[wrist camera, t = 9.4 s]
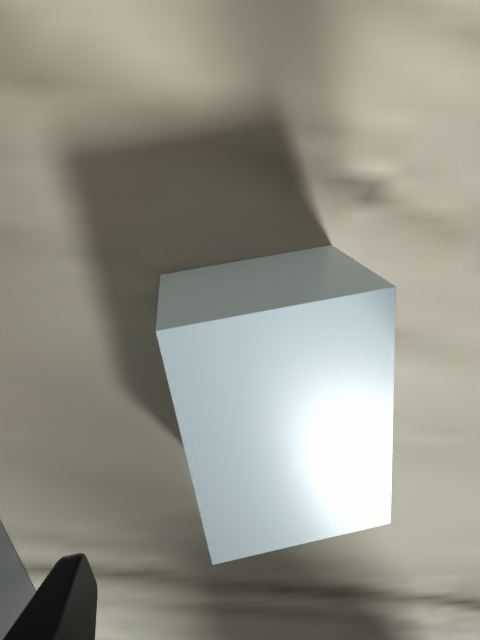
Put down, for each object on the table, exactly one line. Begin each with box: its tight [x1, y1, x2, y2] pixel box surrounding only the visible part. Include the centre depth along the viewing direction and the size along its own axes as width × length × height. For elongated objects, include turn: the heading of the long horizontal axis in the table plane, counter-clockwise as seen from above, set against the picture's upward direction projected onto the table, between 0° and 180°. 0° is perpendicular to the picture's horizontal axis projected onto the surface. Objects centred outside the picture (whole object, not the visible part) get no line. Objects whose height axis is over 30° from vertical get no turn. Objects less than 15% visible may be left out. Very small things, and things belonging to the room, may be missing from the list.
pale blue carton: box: [156, 245, 396, 565], centre depth 12 cm, size 7×5×4 cm
